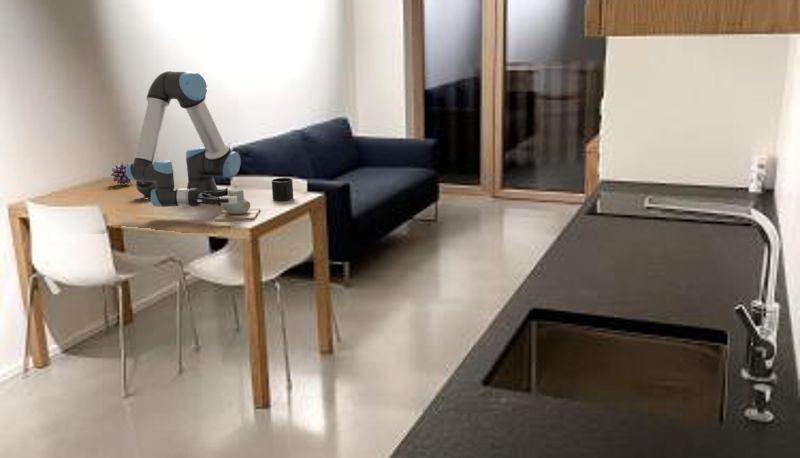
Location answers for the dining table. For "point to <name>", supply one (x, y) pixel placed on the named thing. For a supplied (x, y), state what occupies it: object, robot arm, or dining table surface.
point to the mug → (282, 189)
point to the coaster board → (226, 216)
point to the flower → (120, 173)
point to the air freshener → (241, 204)
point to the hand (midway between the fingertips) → (240, 196)
